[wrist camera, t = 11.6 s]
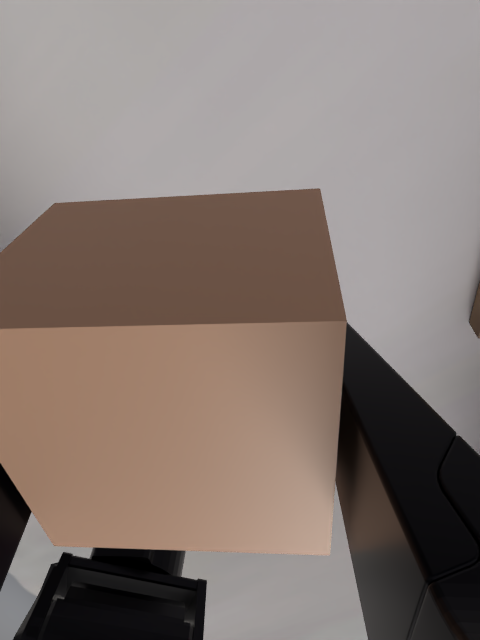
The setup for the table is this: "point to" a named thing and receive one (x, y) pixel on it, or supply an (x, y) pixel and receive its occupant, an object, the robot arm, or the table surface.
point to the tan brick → (175, 372)
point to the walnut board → (476, 314)
